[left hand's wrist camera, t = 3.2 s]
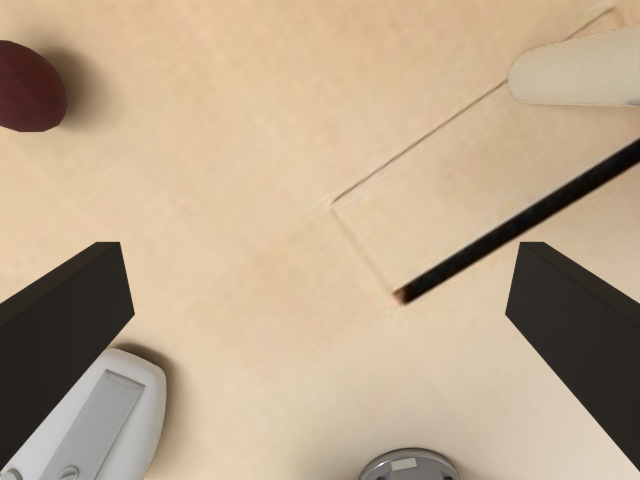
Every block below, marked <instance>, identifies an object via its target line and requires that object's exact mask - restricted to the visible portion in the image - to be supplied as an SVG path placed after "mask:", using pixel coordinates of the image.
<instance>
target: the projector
mask: <svg viewBox="0 0 640 480" xmlns="http://www.w3.org/2000/svg"><path fill="white" fill-rule="evenodd" d="M166 390H167V387H166V377H165V373H164V372H163V370H162V369H161V368H160V367H158V366H157V365H154V364H152V363H150V362H148V361H146V360H145V359H142V358H140V357H138V356H136V355H133V354H131V353H128V352H125V351H122V350H120V349H115V348H110V349H106V350H104V351H103V352H102V353H101V355H100V356H99V357H98V358H97V359H96V360H95V362H94V363H93V364H92V365H91V366H90V367H89V369H88V370H87V371H86V372H85V373H84V374H83V376H82V377H81V378H80V379H79V380H78V381H77V383H76V384H75V385H74V386H73V387H72V388H71V390H70V391H69V392H68V393H67V394H66V395H65V397H64V398H63V399H62V400H61V401H60V402H59V404H58V405H57V406H56V407H55V408H54V409H53V411H52V412H51V413H50V414H49V415H48V416H47V418H46V419H45V420H44V421H43V422H42V424H41V425H40V426H39V427H38V428H37V429H36V431H35V432H34V433H33V434H32V435H31V436H30V438H29V439H28V440H27V441H26V442H25V443H24V445H23V446H22V447H21V448H20V449H19V450H18V452H17V453H16V454H15V455H14V456H13V457H12V459H11V460H10V461H9V462H8V463H7V464H6V466H5V467H4V468H3V472H2V475H1V480H143V479H144V477H145V475H146V473H147V471H148V469H149V466H150V464H151V462H152V459H153V457H154V454H155V451H156V449H157V446H158V442H159V439H160V435H161V432H162V427H163V422H164V416H165V407H166Z"/></svg>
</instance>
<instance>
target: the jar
mask: <svg viewBox="0 0 640 480" xmlns="http://www.w3.org/2000/svg"><path fill="white" fill-rule="evenodd" d="M508 87H509V90H510V93H511V94H512V96H513V97H514V98H515V99H516V100H517V101H519V102H521V103H525V104H549V105H584V106H620V107H640V24H636V25H631V26H627V27H623V28H618V29H614V30H610V31H605V32H601V33H597V34H593V35H588V36H584V37H580V38H575V39H571V40H567V41H563V42H558V43H554V44H550V45H545V46H541V47H537V48H533V49H530V50H528V51H526V52H524V53H523V54H521V55H520V56H519V57H518V58H517V59H516V61H515V62H514V63H513V65H512V67H511V69H510V72H509V76H508Z"/></svg>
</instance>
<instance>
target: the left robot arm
mask: <svg viewBox="0 0 640 480" xmlns="http://www.w3.org/2000/svg"><path fill="white" fill-rule="evenodd" d="M134 315H135V312H134V307H133V303H132V298H131V293H130V288H129V284H128V279H127V274H126V269H125V264H124V260H123V255H122V250H121V245H120V242H95V243H94V244H92V245H91V246H89V247H88V248H86V249H85V250H83V251H81V252H80V253H78V254H77V255H75V256H74V257H72V258H71V259H69V260H67V261H66V262H64V263H63V264H61V265H60V266H58V267H57V268H55V269H53V270H52V271H50V272H49V273H47V274H46V275H44V276H43V277H41V278H39V279H38V280H36V281H35V282H33V283H32V284H30V285H29V286H27V287H26V288H24V289H22V290H21V291H19V292H18V293H16V294H15V295H13V296H12V297H10V298H8V299H7V300H5V301H4V302H2V303H1V304H0V471H1V470H2V469H3V468H4V467H5V466H6V464H7V463H8V462H9V461H10V460H11V459H12V457H13V456H14V455H15V454H16V453H17V452H18V450H19V449H20V448H21V447H22V446H23V445H24V443H25V442H26V441H27V440H28V439H29V438H30V436H31V435H32V434H33V433H34V432H35V431H36V429H37V428H38V427H39V426H40V425H41V424H42V422H43V421H44V420H45V419H46V418H47V416H48V415H49V414H50V413H51V412H52V411H53V409H54V408H55V407H56V406H57V405H58V404H59V402H60V401H61V400H62V399H63V398H64V397H65V395H66V394H67V393H68V392H69V391H70V390H71V388H72V387H73V386H74V385H75V384H76V383H77V381H78V380H79V379H80V378H81V377H82V376H83V374H84V373H85V372H86V371H87V370H88V369H89V367H90V366H91V365H92V364H93V363H94V362H95V360H96V359H97V358H98V357H99V356H100V355H101V353H102V352H103V351H104V350H105V349H106V348H107V346H108V345H109V344H110V343H111V342H112V341H113V339H114V338H115V337H116V336H117V335H118V334H119V332H120V331H121V330H122V329H123V328H124V326H125V325H126V324H127V323H128V322H129V321H130V319H131V318H132V317H133V316H134ZM505 315H506V316H507V317H508V318H509V319H510V321H511V322H512V323H513V324H514V325H515V326H516V328H517V329H518V330H519V331H520V332H521V334H522V335H523V336H524V337H525V338H526V339H527V341H528V342H529V343H530V344H531V345H532V346H533V348H534V349H535V350H536V351H537V352H538V353H539V355H540V356H541V357H542V358H543V359H544V360H545V362H546V363H547V364H548V365H549V366H550V367H551V369H552V370H553V371H554V372H555V373H556V374H557V376H558V377H559V378H560V379H561V380H562V381H563V383H564V384H565V385H566V386H567V387H568V388H569V390H570V391H571V392H572V393H573V394H574V395H575V397H576V398H577V399H578V400H579V401H580V402H581V404H582V405H583V406H584V407H585V408H586V409H587V411H588V412H589V413H590V414H591V415H592V416H593V418H594V419H595V420H596V421H597V422H598V424H599V425H600V426H601V427H602V428H603V429H604V431H605V432H606V433H607V434H608V435H609V436H610V438H611V439H612V440H613V441H614V442H615V443H616V445H617V446H618V447H619V448H620V449H621V450H622V452H623V453H624V454H625V455H626V456H627V457H628V459H629V460H630V461H631V462H632V463H633V464H634V466H635V467H636V468H637V469H638V470H639V471H640V304H639V303H638V302H636V301H635V300H633V299H632V298H630V297H628V296H627V295H625V294H624V293H622V292H621V291H619V290H618V289H616V288H614V287H613V286H611V285H610V284H608V283H607V282H605V281H604V280H602V279H601V278H599V277H597V276H596V275H594V274H593V273H591V272H590V271H588V270H587V269H585V268H583V267H582V266H580V265H579V264H577V263H576V262H574V261H573V260H571V259H569V258H568V257H566V256H565V255H563V254H562V253H560V252H559V251H557V250H555V249H554V248H552V247H551V246H549V245H548V244H546V243H545V242H520V245H519V250H518V255H517V260H516V264H515V269H514V274H513V279H512V284H511V288H510V293H509V298H508V303H507V307H506V312H505ZM359 480H460V479H459V476H458V474H457V471H456V469H455V467H454V466H453V465H452V464H451V462H449V461H448V460H447V459H446V458H444V457H443V456H441V455H439V454H437V453H434V452H431V451H427V450H422V449H403V450H397V451H393V452H390V453H387V454H384V455H382V456H380V457H378V458H377V459H375V460H374V461H372V462H371V463H370V464H369V465H368V466H367V467H366V468H365V469H364V470H363V472H362V473H361V475H360V477H359Z"/></svg>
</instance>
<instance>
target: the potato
mask: <svg viewBox="0 0 640 480" xmlns="http://www.w3.org/2000/svg"><path fill="white" fill-rule="evenodd" d="M66 105H67V102H66V96H65V91H64V86H63V84H62V82H61V79H60V77H59V75H58V73H57V71H56V69H55V68H54V67H53V66H52V65H51V64H50V63H49V62H48V61H47V60H46V59H44V58H43V57H42V56H40V55H39V54H37V53H36V52H34V51H33V50H31V49H30V48H27V47H25V46H22V45H20V44H17V43H14V42H11V41H4V40H0V126H2V127H6V128H9V129H12V130H15V131H18V132H44V131H46V130H49V129H51V128H53V127H55V126H58V125H59V124H60V122H61V121H62V119H63V118H64V116H65V111H66Z"/></svg>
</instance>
